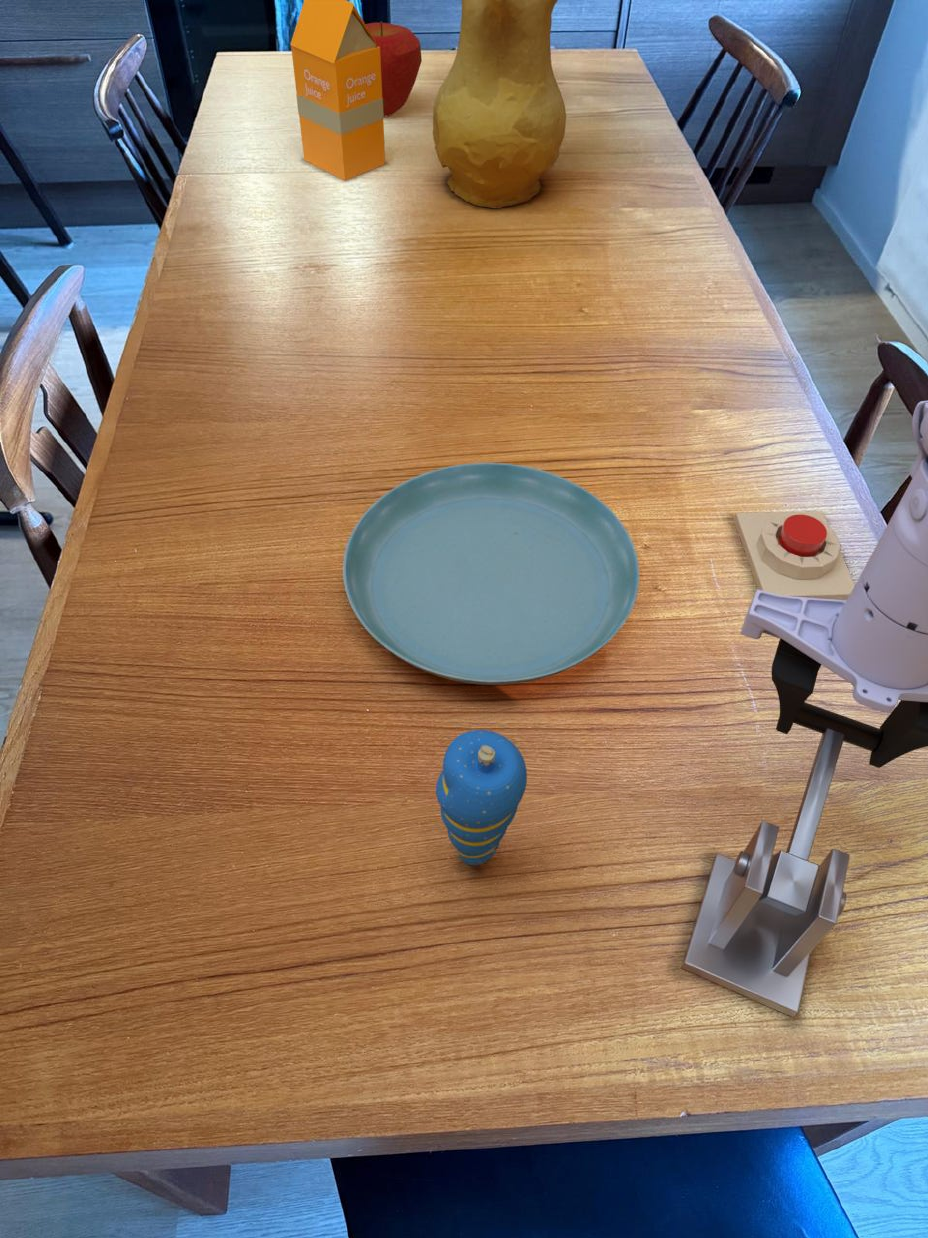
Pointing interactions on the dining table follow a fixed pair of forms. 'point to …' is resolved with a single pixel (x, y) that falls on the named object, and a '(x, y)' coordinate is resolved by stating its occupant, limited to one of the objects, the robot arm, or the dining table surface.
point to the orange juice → (338, 89)
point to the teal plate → (491, 573)
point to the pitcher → (500, 103)
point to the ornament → (480, 792)
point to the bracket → (761, 925)
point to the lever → (812, 807)
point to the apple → (396, 63)
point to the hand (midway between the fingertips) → (829, 736)
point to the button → (802, 535)
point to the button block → (792, 559)
